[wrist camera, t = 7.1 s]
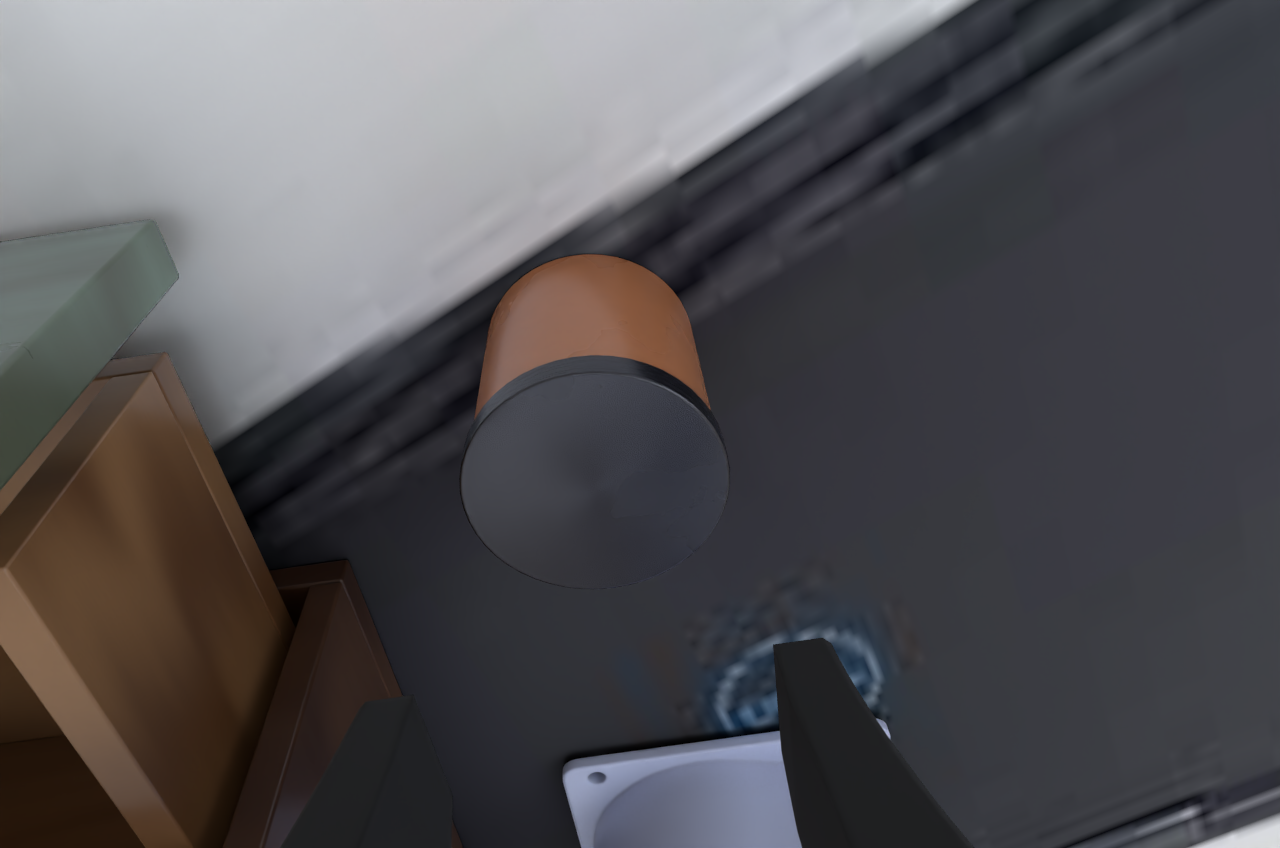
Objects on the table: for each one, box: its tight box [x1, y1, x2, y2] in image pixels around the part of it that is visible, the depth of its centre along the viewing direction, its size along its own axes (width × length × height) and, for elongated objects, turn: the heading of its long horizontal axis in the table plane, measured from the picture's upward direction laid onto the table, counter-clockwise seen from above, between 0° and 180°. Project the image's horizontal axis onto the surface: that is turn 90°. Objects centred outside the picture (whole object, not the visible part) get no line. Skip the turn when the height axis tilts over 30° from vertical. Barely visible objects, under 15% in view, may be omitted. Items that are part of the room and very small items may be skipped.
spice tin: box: [459, 254, 730, 589], centre depth 18 cm, size 5×5×5 cm
